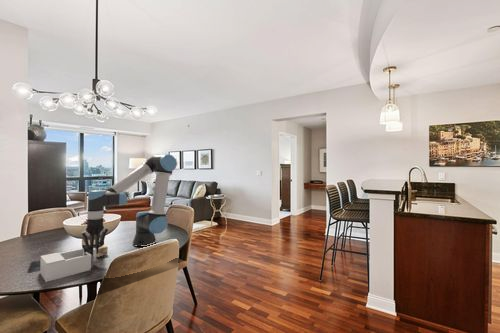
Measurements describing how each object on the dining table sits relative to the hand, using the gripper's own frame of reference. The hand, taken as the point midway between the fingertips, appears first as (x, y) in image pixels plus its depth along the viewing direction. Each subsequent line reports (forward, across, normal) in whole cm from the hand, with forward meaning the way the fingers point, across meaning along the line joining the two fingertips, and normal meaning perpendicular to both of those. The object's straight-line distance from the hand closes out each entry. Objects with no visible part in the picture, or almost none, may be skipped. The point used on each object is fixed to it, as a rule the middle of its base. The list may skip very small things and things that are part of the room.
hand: (93, 260), depth 129 cm
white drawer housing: (+2, +12, 0) cm, 12 cm away
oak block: (+2, -8, -12) cm, 14 cm away
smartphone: (+3, +20, -18) cm, 27 cm away
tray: (+1, +10, 0) cm, 10 cm away
